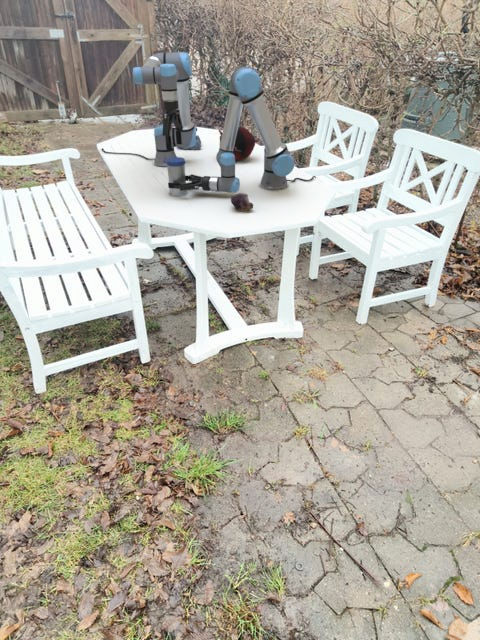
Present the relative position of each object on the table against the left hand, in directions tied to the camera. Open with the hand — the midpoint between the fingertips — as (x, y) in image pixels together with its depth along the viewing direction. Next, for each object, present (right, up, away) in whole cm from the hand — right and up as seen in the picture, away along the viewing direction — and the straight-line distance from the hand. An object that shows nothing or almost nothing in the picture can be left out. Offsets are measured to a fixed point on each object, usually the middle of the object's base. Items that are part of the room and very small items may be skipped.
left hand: (174, 146), depth 232 cm
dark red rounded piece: (+32, +19, +70) cm, 79 cm away
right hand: (-2, -15, +10) cm, 18 cm away
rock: (+35, -34, -7) cm, 49 cm away
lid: (0, -6, +4) cm, 7 cm away
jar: (0, -20, +14) cm, 25 cm away
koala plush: (-3, +37, +97) cm, 104 cm away
